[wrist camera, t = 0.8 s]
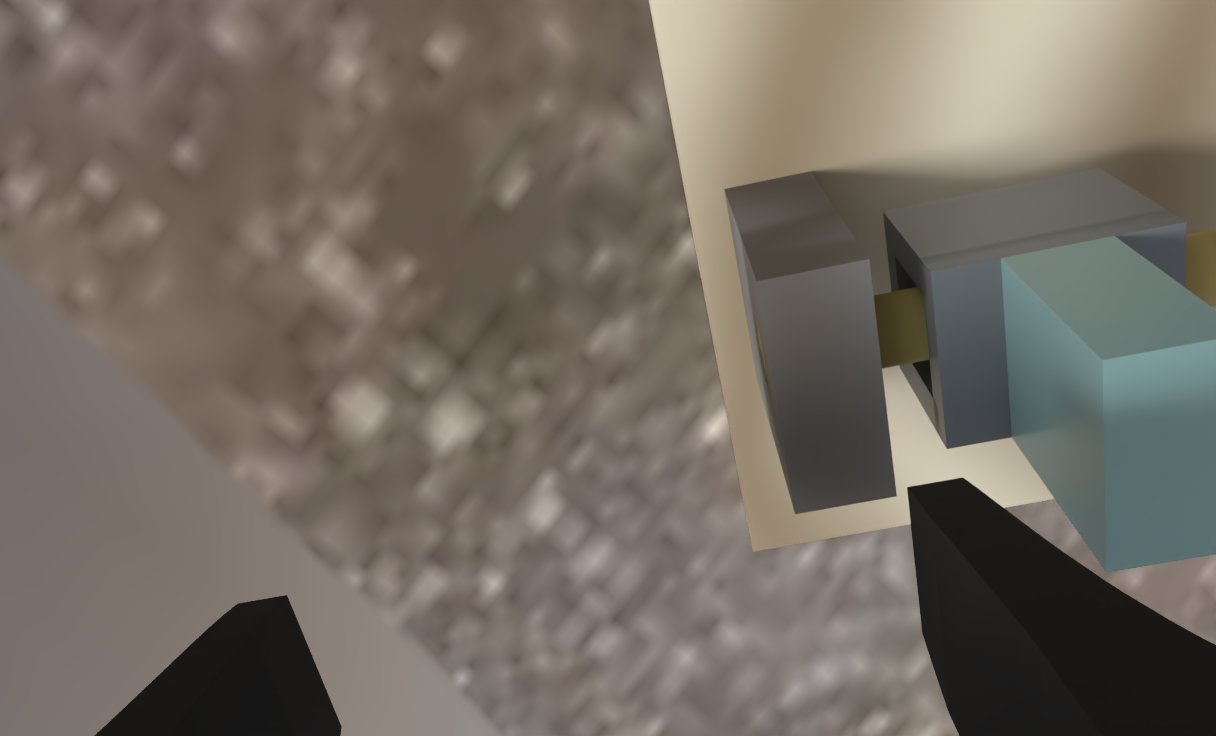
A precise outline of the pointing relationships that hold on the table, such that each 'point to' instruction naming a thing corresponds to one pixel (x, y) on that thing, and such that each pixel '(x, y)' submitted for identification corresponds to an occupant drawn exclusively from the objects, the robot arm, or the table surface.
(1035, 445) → the sleeve
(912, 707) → the table surface
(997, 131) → the rod and block board
